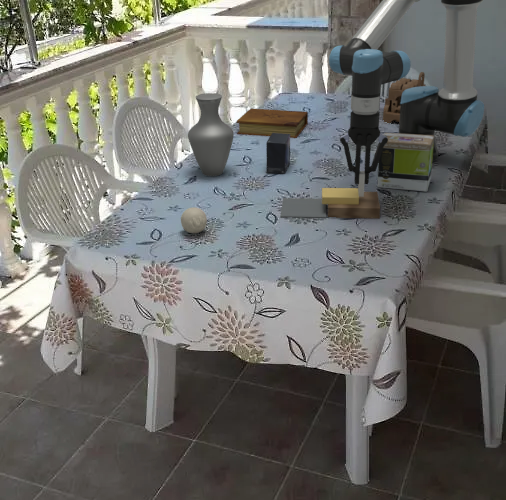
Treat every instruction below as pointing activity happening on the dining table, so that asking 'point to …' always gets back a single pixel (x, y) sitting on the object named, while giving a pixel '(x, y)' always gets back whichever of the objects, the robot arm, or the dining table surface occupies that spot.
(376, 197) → the brown flat block
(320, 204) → the mat
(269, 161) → the small box
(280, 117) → the diary
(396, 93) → the wooden puzzle
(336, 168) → the dining table surface
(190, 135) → the vase
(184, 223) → the baseball
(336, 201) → the yellow block
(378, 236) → the dining table surface
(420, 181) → the tea box
